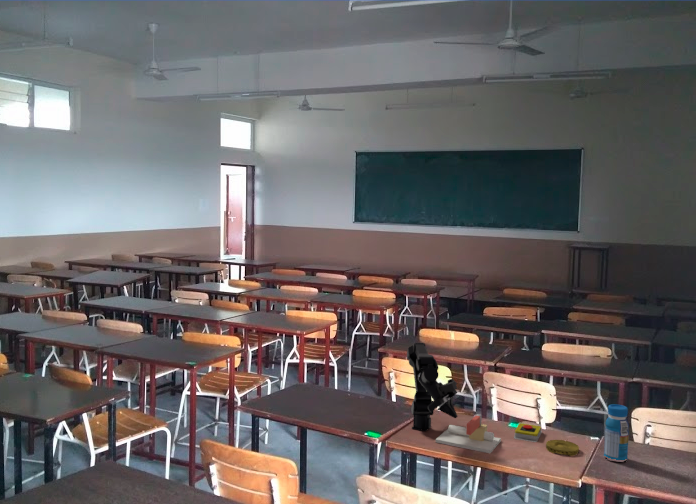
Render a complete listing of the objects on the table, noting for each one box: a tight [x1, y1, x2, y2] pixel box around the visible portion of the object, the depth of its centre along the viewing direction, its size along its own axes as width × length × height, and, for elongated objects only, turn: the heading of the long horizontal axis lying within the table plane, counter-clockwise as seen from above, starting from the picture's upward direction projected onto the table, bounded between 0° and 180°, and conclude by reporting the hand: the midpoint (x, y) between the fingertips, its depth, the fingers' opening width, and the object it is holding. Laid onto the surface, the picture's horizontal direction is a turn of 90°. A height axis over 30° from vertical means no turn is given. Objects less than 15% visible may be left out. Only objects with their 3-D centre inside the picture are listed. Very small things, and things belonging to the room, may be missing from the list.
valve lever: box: [466, 413, 482, 435], centre depth 245 cm, size 14×2×4 cm, turn 151°
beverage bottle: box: [603, 403, 630, 460], centre depth 234 cm, size 8×8×20 cm
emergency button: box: [513, 423, 543, 443], centre depth 259 cm, size 9×4×15 cm
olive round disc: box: [545, 439, 580, 457], centre depth 243 cm, size 12×12×2 cm
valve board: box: [435, 423, 502, 454], centre depth 249 cm, size 22×15×6 cm
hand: (456, 417), depth 248 cm, fingers closed
